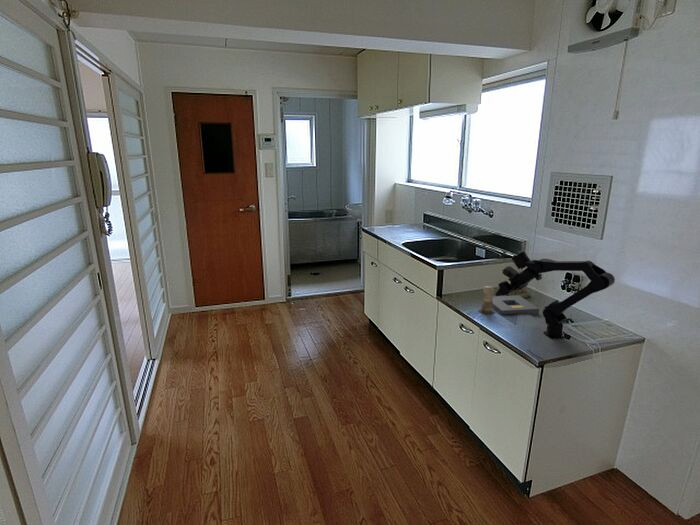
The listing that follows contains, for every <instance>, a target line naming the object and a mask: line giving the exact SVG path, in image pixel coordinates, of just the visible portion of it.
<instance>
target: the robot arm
mask: <svg viewBox="0 0 700 525" xmlns="http://www.w3.org/2000/svg"><path fill="white" fill-rule="evenodd" d="M510 259H511V261H512V262H513V263H514V265H515V266H516V268H517V269H518V270H520V269H521V270H522V271H519V272H518V271H517V270H516V269H514V268H513V267H512V266H510V265H509V266H505V268H503V269H502V274H503V275H504V276H505V277H507V278H508V281H507V280H504V281H501V282H499V283H498V287H499V289H497V291H496V293H495V294H494V295H495V296H507V295H508V294H510V293H512V292H513V291H514V290H519V289H522V288H524V287H526V286H528V285H529V283H530V282H531V281H533V280H534V279H535V280H536V281H540V280H542V278H543V273H549V272H554V271H555V272H558V271H561V272H563V271H564V272H565V271H568V272H569V271H570V272H583V273H584V275H585V276H586V277H587V278H588V279H589V282H588V283H587V285H586V286H584V287H583V288H581V289H579V290H578V291H576V292H575V293H573V294H571V295H570V296H568V297H566V298H565V299H562V301H559V300H558V299H555V301H552V302H550V303H549V304H547V305H545V306H544V309H543V310H542V316H543V318H544V320H545V324H546V331H543V332H542V333H543V334H544V335H546V336H547V337H548V338H550V339H553V340H554V339H565V338H566V337H565V335H563V328H564V325H563V323H565V322H566V321H567V319H568V318H567V316H566V315H565V314H564V313H565V312H566V311H567V310H568V309H569V308H571V307H572V306H574V305H575V304H577V303H579V302H580V301H582V300H583V299H585V298H587V297H589V296H590V295H592V294H594V293H598V292H600V291H604V290H605V289H606V290H607V288H610V287H611V286H613V285H614V284H615V282H616V281H615V280H616V279H615V277H614V274H612V273H610V272H607V270H605V269H603V268H602V267H600V266H598V265H596V263H594V262H592V261H591V260H579V261H578V260H577V261H576V260H570V261H569V260H567V261H566V260H554V259H549V258H540V259H532V260H531V259H530V258H529V256H528V255H527V253H526V251H521V252H519V253H518V254H516V255H514V256H513V257H512V258H510ZM523 269H524V270H523ZM509 281H511V282H510V283H511V284H509V283H508V282H509Z"/></svg>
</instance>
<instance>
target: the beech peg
mask: <svg viewBox="0 0 700 525" xmlns="http://www.w3.org/2000/svg"><path fill="white" fill-rule="evenodd" d="M494 290H495V287H493V286H488V285H485V286H483V288H482V298H481V308H480V309H481V312H483V313H491V312H492V310H493V307H492V302H493V297H494Z"/></svg>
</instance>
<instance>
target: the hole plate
mask: <svg viewBox="0 0 700 525" xmlns="http://www.w3.org/2000/svg"><path fill="white" fill-rule="evenodd" d="M509 304H510V305H509ZM492 309H494V310H496V312H498V313H499V314H500V315H513V314H514V315H519V314H529V315H530V314H533V315H540V314H539V313H540V308H539V307H538V306H536V305H535V304H533V303H532V302H530V301H528V300H527V299H525V297H521V296H519V295H517V296H507V295H501V296H496V295H495V296H494V295H493V302H492Z"/></svg>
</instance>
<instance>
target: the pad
mask: <svg viewBox="0 0 700 525" xmlns="http://www.w3.org/2000/svg"><path fill="white" fill-rule="evenodd" d="M481 309H482V308H479V309H478V312H479V313H480V314H482V315H490V316H492V315H495V313H496V312H495V311H494V310H493V309H492V312H491V313H483V312H481Z"/></svg>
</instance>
